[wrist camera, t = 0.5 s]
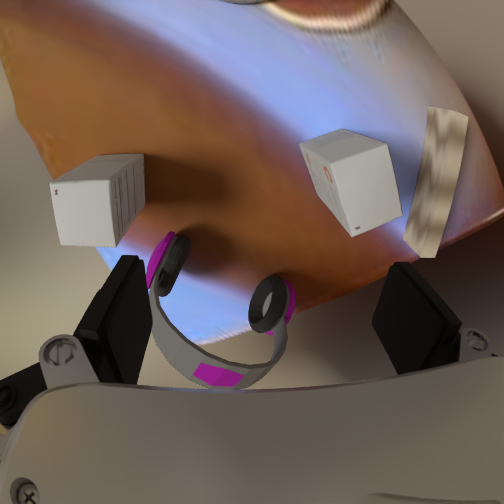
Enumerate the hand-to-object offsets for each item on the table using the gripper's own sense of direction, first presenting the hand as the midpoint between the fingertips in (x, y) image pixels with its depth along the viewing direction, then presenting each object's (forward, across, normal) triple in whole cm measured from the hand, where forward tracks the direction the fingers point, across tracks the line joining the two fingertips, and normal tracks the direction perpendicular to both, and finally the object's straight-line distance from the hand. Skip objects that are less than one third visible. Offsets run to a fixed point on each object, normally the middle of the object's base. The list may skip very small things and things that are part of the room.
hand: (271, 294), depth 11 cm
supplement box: (+29, +16, +3) cm, 34 cm away
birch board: (+29, -28, -1) cm, 40 cm away
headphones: (+30, +2, +17) cm, 34 cm away
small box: (+29, -12, 0) cm, 31 cm away
